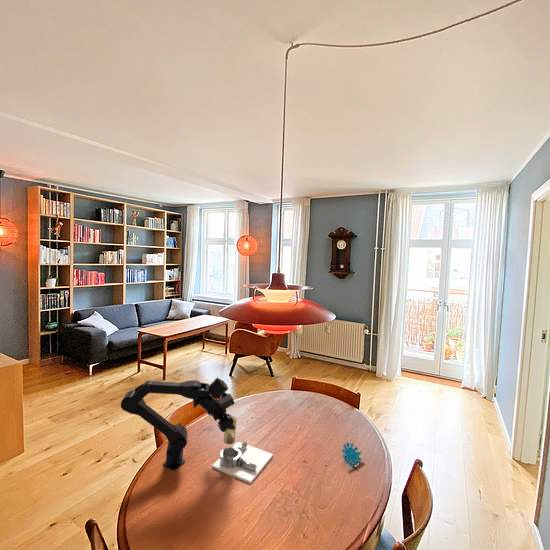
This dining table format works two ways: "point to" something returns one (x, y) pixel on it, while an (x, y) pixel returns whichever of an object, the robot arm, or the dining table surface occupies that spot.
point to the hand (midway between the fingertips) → (233, 425)
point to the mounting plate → (250, 456)
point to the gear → (351, 454)
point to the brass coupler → (230, 434)
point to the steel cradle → (237, 460)
